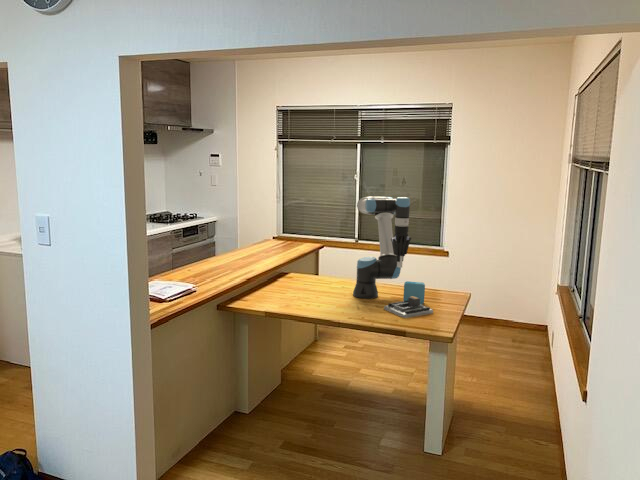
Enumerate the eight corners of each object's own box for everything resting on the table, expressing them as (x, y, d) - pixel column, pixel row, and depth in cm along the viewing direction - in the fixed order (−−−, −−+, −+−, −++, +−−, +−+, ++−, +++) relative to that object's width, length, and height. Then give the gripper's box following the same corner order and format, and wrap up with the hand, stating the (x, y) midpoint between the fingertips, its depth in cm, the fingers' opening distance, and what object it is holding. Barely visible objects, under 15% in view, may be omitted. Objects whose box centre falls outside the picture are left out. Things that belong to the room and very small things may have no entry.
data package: (424, 302, 315) (425, 282, 313) (424, 304, 310) (425, 284, 308) (403, 300, 317) (404, 281, 315) (403, 302, 312) (404, 283, 310)
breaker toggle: (408, 305, 299) (408, 296, 298) (413, 304, 301) (414, 295, 300) (413, 308, 295) (414, 298, 294) (419, 307, 297) (420, 298, 296)
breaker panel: (383, 309, 299) (384, 303, 298) (411, 304, 309) (411, 298, 308) (404, 318, 284) (404, 311, 283) (432, 313, 294) (433, 306, 293)
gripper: (396, 227, 287) (394, 269, 291) (415, 225, 293) (413, 267, 297) (388, 225, 293) (386, 266, 297) (406, 223, 300) (404, 264, 304)
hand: (399, 267), depth 297 cm, fingers closed
